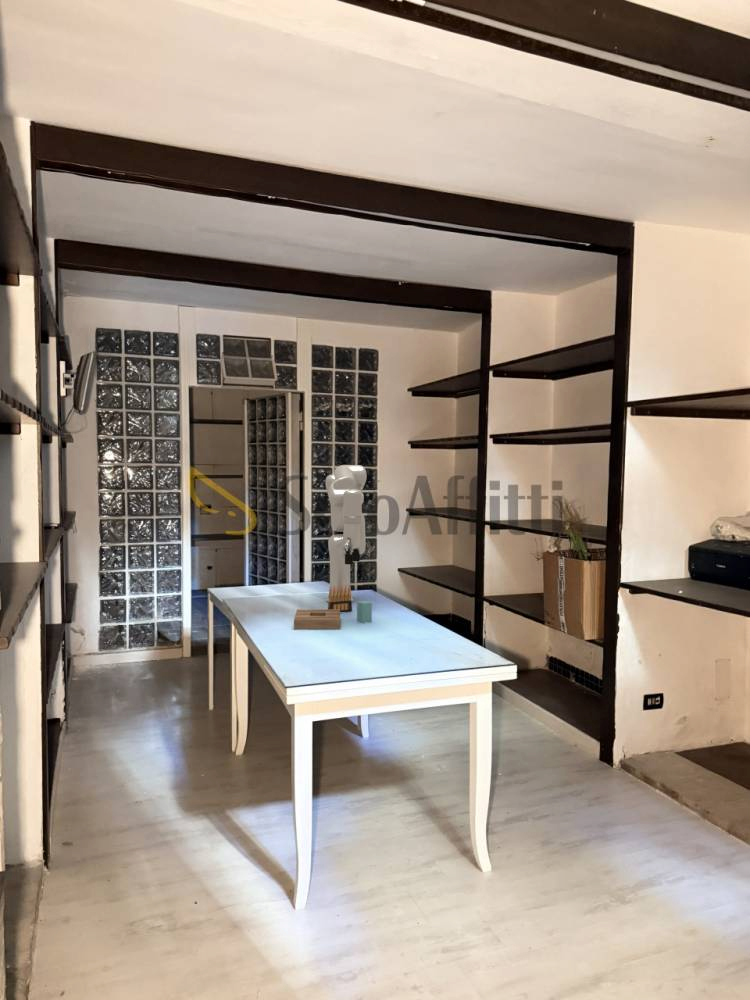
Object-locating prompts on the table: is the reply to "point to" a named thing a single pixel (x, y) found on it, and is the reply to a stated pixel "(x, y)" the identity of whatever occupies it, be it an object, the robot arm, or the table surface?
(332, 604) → the ammunition clip
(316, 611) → the socket block
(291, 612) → the table surface
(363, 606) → the peg
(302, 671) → the table surface
